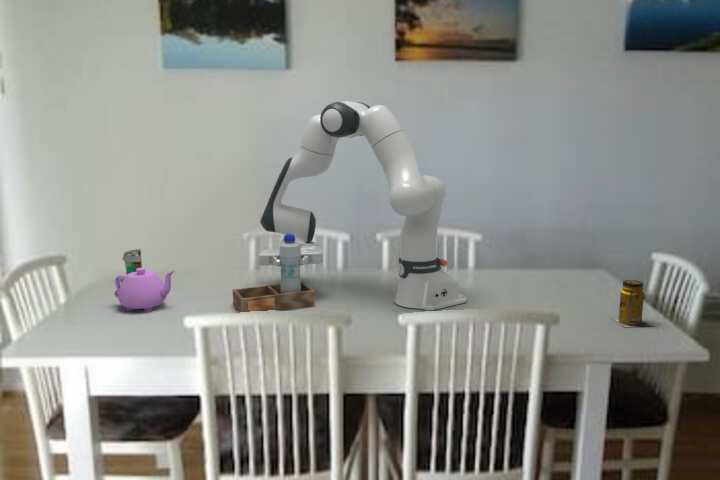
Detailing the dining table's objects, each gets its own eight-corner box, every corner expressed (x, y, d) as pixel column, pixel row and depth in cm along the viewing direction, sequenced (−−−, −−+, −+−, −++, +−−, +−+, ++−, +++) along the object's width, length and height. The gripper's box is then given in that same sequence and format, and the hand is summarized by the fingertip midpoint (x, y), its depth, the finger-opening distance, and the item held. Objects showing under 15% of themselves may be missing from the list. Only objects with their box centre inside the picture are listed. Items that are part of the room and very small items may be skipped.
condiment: (612, 319, 188) (615, 278, 185) (640, 318, 189) (644, 278, 186) (624, 328, 181) (628, 285, 178) (654, 326, 182) (658, 284, 179)
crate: (302, 296, 211) (301, 281, 210) (314, 306, 201) (314, 291, 200) (233, 305, 203) (232, 289, 202) (242, 316, 192) (241, 300, 191)
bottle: (298, 301, 200) (297, 236, 196) (277, 299, 201) (275, 235, 197) (304, 295, 206) (303, 232, 202) (283, 293, 207) (282, 231, 203)
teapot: (186, 301, 207) (184, 263, 205) (167, 315, 193) (165, 275, 191) (126, 299, 210) (123, 262, 207) (103, 312, 196) (100, 273, 193)
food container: (124, 276, 237) (122, 249, 235) (142, 275, 238) (140, 248, 236) (123, 285, 225) (121, 257, 223) (142, 284, 227) (140, 256, 225)
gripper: (259, 244, 213) (255, 254, 199) (322, 242, 214) (322, 251, 200) (260, 263, 214) (256, 274, 200) (323, 261, 215) (323, 271, 202)
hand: (290, 262), depth 200 cm, fingers closed on bottle, 6 cm apart
